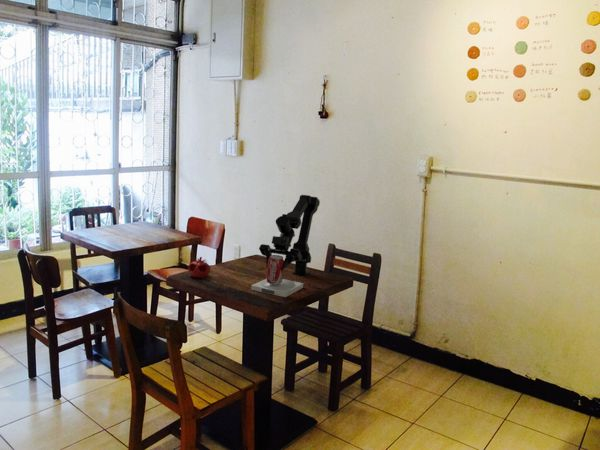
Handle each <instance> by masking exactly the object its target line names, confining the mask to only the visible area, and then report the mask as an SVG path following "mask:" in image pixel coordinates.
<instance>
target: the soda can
mask: <svg viewBox="0 0 600 450" xmlns="http://www.w3.org/2000/svg"><path fill="white" fill-rule="evenodd" d="M284 260H285V259H284V256H283V255H280V254H272V255H271V256H270V258H269V260H268V268H267V267H266V269H267V271H266V279H267V282H268V283H269V284H272V285H279V284H280V283H282V279H284V278H283V277H284V270H285V269H283V270H281V268H282V266H283V263H284Z"/></svg>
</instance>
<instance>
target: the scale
mask: <svg viewBox="0 0 600 450" xmlns="http://www.w3.org/2000/svg"><path fill="white" fill-rule="evenodd" d="M303 288H304V282H303V283H302V282H298V281H294V280H289V279H285V278H283V279H282V283H280V284H279V285H272V284H269V283H268V282H267V278H265V279H262V280H260V281H258V282H256V283H254V284H252V285H251V287H250V290H251V291H254V290H255V292H258V293H259V292H260V293H263V294H268V295H269V294H270V295H274V296H278V297H283V298H287V297H289V296H290V295H292V294H294V293H297V292H298V291H299V290H301V289H303Z"/></svg>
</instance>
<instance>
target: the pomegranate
mask: <svg viewBox="0 0 600 450" xmlns="http://www.w3.org/2000/svg"><path fill="white" fill-rule="evenodd" d="M188 272H189V275H190V276H191V277H192V278H200V279H202V278H203V279H204V278H207V277H208V276H209V275H210V272H211V265H209V263H208V261H207V260H206V259H203V257H202V256H200V257H199V258H197V259H194V260H193V261H192V262H190V263H189V264H188Z"/></svg>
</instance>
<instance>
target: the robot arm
mask: <svg viewBox="0 0 600 450" xmlns="http://www.w3.org/2000/svg"><path fill="white" fill-rule="evenodd" d="M320 203H321V202H320V199H319V197H317V196H311V195H309V194H308V195H307V194H301V195H299V198H298V201H297V202H296V204H295V206H294V207H293V209H292V210H291V211H290V212H287V214H285V213H282V215H281V216H278V217H277V218H276V220H275V224H276V227H277V229H278V231H279V232H280V235H279V236H275V235H273V236H272V239H271V244H273V248H271V246H270V244H266V243H265V244H263V243H262V244H260V245H259V247H258V249H259V251H260V253H261V255H262V256H265V257H266V260H265V262H266V263H265V264H266V269H267V268H268V260H269V258H270V256H271V255H273V254H274V255H280V256H285V257H284V259H283V260H284V263H283V266H282V268H281V270H283V269H284V270H285V269H286V268H287V267H288V266H290V264H292V263H295V265H294V271H292V272H291V273H292V274H294V275H298V276H306V275H307V274H309V272H310V271H308V270H307V267H308V264H311V262H312V255H311V253H310V247H309V245H308V244H309V243H308V241H309V238H310V237H309V236H310V231H311V227H312V222H313V216H314V215H315V214H316V212H318V209H319V207H320ZM301 218H302V219H301ZM299 228H300V230H299V234H298V238H297V239H298V240H297V241H296V242H294V243H293V244H291V243H292V241H293V239H294V237H295V236H296V234H295V230H297V229H299ZM294 229H295V230H294ZM291 247H292V248H291ZM284 270H283V271H284Z"/></svg>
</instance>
